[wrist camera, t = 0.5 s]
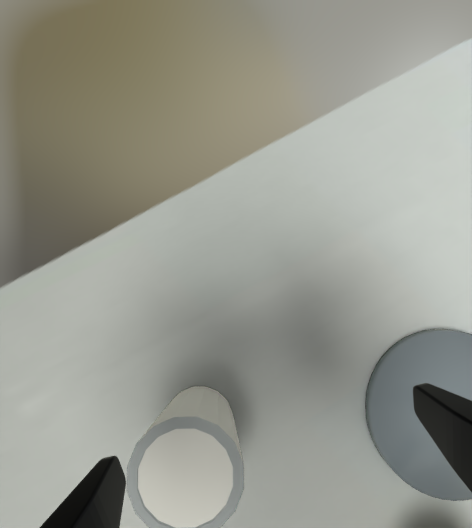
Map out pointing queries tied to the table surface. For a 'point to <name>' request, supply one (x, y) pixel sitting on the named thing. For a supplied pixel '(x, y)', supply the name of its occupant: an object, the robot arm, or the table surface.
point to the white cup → (188, 464)
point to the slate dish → (402, 407)
